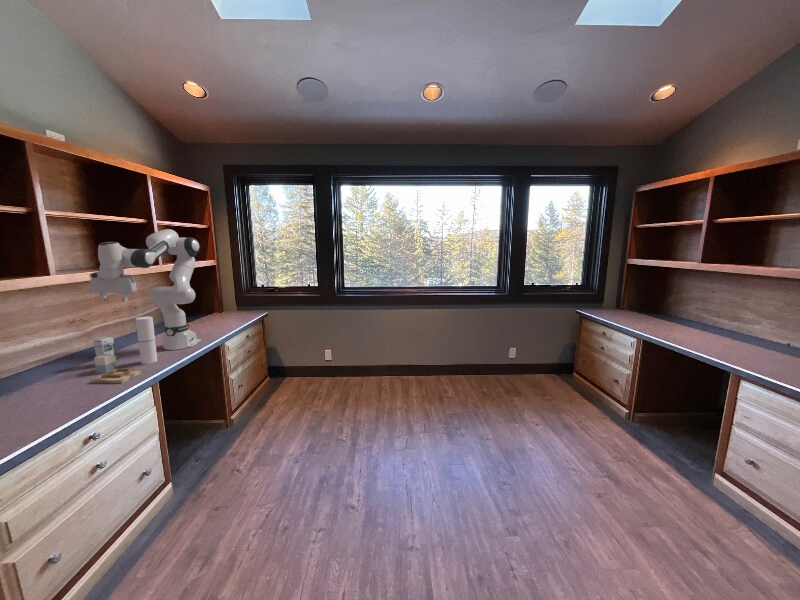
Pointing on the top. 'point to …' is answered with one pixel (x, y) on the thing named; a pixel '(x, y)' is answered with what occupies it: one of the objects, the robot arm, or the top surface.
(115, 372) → the base plate
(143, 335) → the cylindrical container
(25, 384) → the top surface
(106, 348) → the syrup box
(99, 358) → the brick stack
